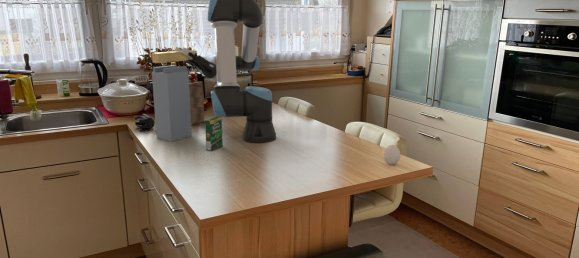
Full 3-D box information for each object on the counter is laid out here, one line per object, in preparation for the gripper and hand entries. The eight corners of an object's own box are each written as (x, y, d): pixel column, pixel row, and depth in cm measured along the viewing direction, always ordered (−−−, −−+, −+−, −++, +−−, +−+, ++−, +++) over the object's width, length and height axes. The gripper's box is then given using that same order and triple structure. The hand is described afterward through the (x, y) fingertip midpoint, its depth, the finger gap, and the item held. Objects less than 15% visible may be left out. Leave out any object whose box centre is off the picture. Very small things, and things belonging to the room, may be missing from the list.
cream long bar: (191, 58, 208) (190, 50, 207) (197, 59, 206) (196, 50, 205) (152, 62, 190) (151, 53, 189) (158, 62, 188) (157, 53, 187)
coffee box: (211, 151, 182) (209, 120, 179) (205, 150, 183) (204, 119, 180) (223, 146, 189) (222, 116, 186) (217, 145, 190) (216, 115, 187)
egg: (387, 160, 171) (389, 141, 170) (402, 164, 168) (403, 144, 166) (380, 164, 167) (381, 145, 165) (395, 168, 163) (396, 148, 161)
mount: (177, 132, 211) (172, 65, 203) (191, 135, 206) (188, 66, 198) (156, 137, 202) (151, 67, 194) (171, 141, 196) (166, 69, 188)
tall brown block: (191, 118, 239) (189, 80, 234) (204, 121, 233) (202, 81, 228) (176, 122, 231) (174, 82, 226) (190, 125, 225) (187, 84, 220)
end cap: (155, 130, 216) (154, 116, 214) (140, 132, 212) (139, 118, 210) (149, 126, 224) (148, 112, 222) (135, 127, 220) (134, 114, 218)
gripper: (222, 80, 212) (189, 58, 193) (197, 77, 222) (163, 56, 203) (227, 65, 213) (195, 42, 195) (202, 63, 223) (169, 41, 204)
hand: (179, 49), depth 199 cm, fingers closed on cream long bar, 4 cm apart
